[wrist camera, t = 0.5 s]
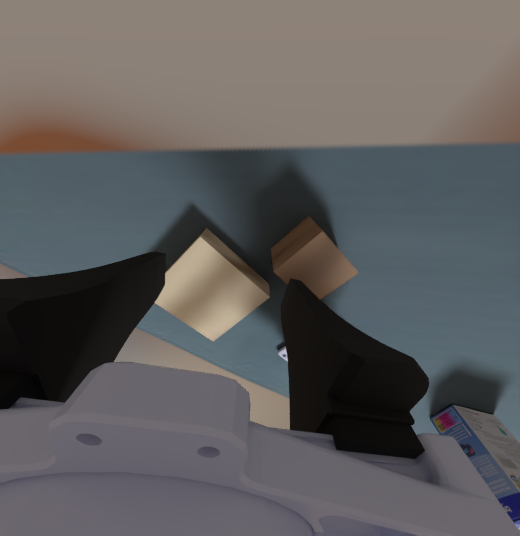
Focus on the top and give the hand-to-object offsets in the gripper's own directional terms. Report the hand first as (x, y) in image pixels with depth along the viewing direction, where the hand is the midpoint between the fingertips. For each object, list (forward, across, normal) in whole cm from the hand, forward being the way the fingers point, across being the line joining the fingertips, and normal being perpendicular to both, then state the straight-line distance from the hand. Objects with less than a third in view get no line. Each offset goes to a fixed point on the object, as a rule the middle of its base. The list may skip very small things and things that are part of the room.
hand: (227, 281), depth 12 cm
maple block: (+10, +2, +7) cm, 12 cm away
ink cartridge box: (+10, -44, +25) cm, 51 cm away
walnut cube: (+10, -7, 0) cm, 12 cm away
